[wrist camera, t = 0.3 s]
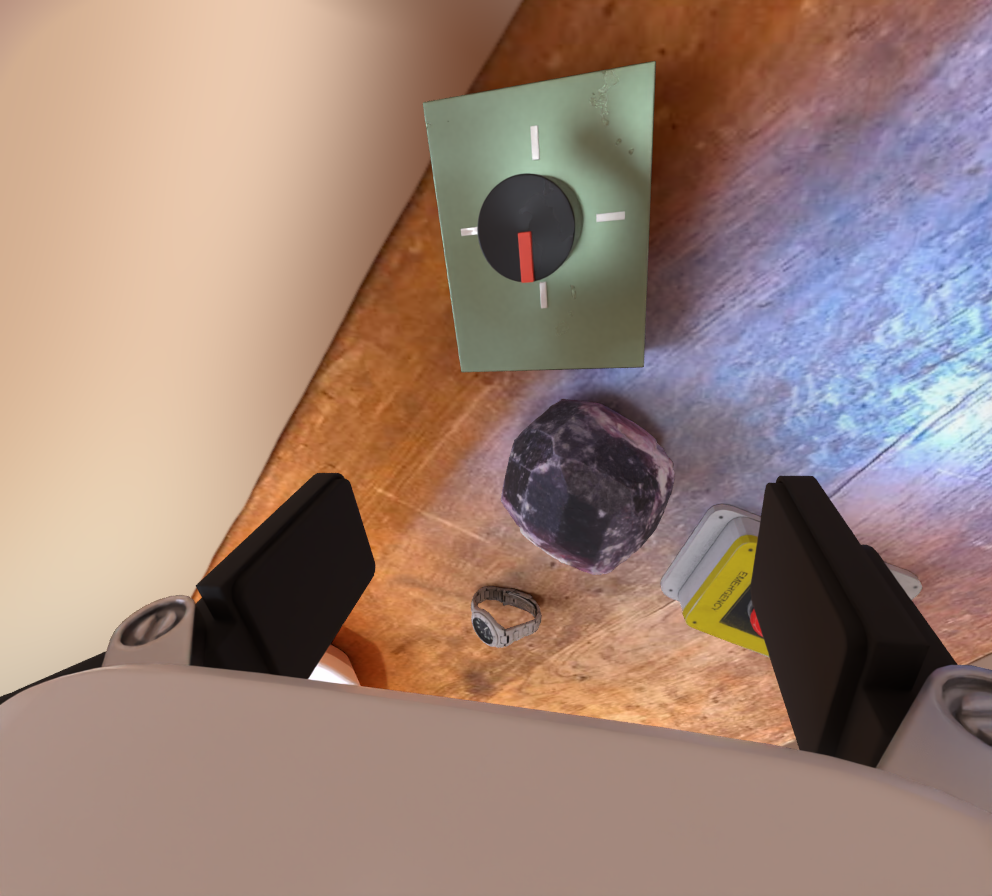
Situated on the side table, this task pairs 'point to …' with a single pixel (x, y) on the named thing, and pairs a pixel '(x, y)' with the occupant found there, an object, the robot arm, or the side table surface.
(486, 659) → the side table surface
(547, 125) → the panel
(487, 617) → the wristwatch
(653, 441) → the mineral specimen
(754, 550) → the emergency button
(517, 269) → the knob
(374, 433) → the side table surface
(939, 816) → the robot arm
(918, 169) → the side table surface
